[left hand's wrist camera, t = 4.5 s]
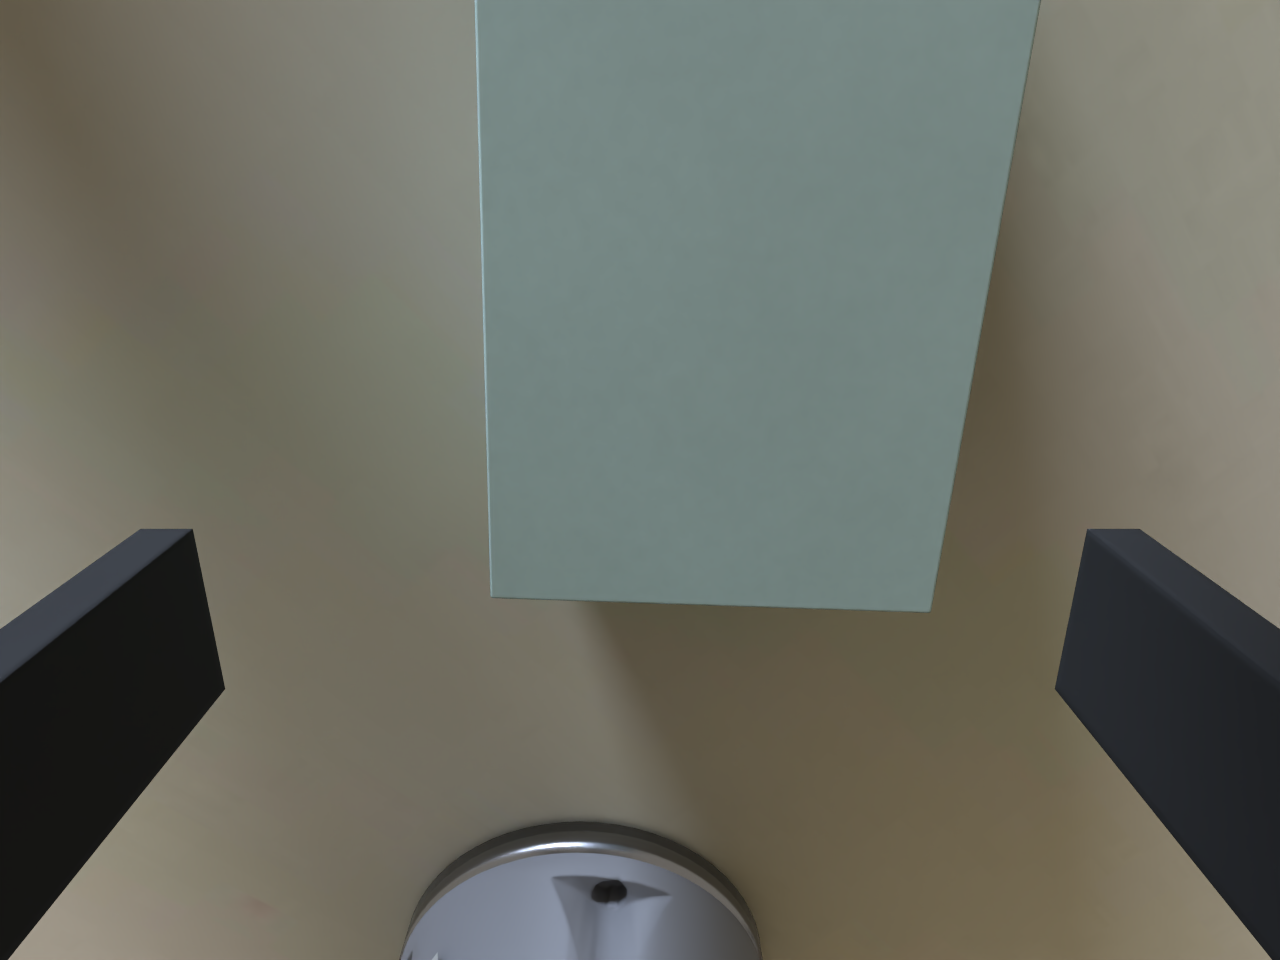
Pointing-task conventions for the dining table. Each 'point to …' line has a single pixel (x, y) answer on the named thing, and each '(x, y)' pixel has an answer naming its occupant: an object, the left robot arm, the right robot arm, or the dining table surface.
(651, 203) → the grey boxy piece
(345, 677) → the dining table surface
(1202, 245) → the dining table surface
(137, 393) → the dining table surface
